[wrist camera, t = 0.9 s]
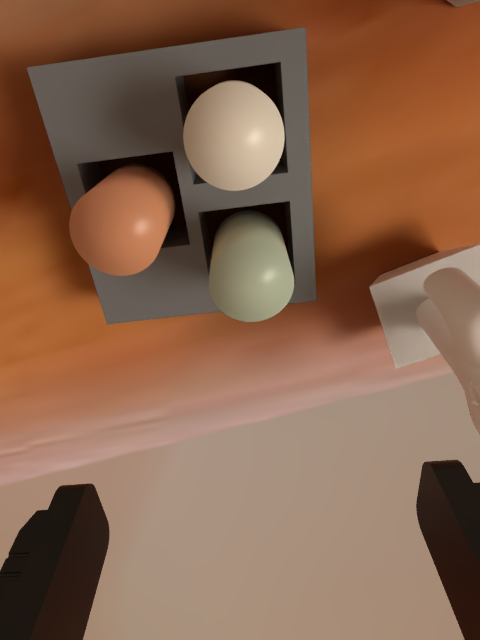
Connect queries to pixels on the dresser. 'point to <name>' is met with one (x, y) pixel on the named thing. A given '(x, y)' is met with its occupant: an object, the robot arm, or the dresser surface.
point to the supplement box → (461, 2)
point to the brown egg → (123, 220)
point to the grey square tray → (178, 158)
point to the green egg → (250, 267)
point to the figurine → (435, 315)
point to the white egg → (233, 136)
